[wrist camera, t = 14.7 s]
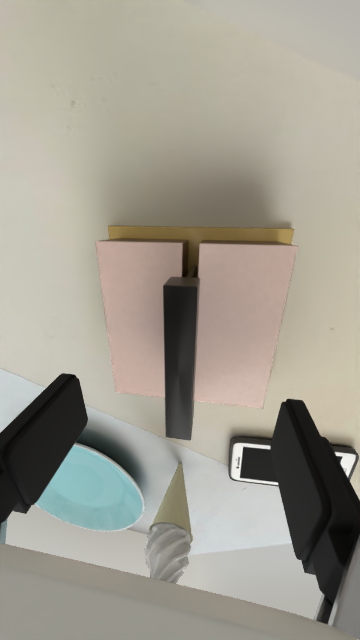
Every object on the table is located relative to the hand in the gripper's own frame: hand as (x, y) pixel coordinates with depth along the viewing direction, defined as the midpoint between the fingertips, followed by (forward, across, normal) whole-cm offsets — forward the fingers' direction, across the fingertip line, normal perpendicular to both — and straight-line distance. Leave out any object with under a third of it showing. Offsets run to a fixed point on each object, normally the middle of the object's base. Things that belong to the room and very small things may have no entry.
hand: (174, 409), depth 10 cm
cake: (+13, 0, 0) cm, 13 cm away
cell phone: (+13, -13, +20) cm, 27 cm away
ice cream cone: (+13, +1, +24) cm, 28 cm away
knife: (+13, 0, +1) cm, 13 cm away
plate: (+13, +17, +30) cm, 37 cm away
